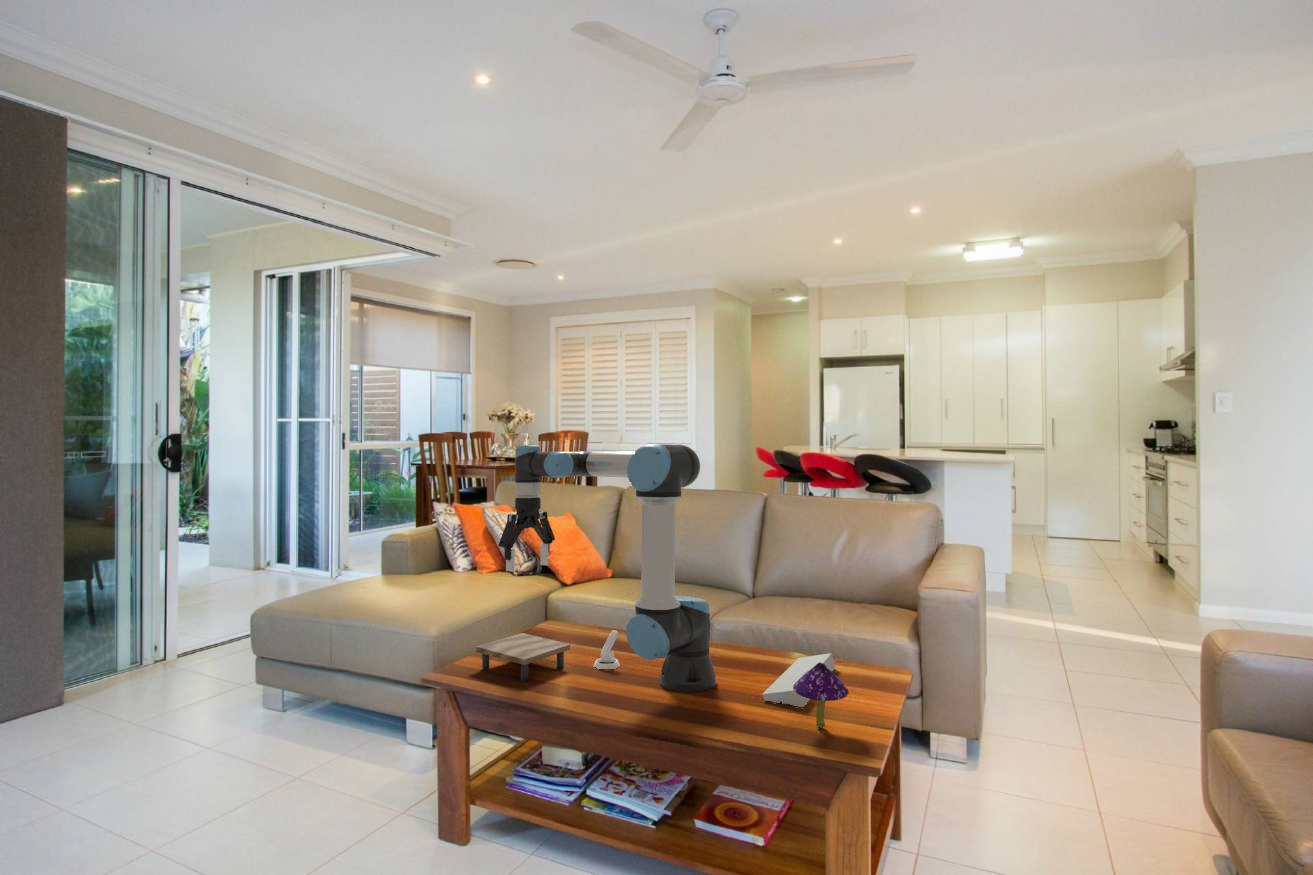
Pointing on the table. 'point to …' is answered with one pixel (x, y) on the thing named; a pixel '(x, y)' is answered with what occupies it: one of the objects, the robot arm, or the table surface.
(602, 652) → the white ring with handle
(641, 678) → the table surface
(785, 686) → the decorative molding
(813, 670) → the decorative mushroom
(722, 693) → the table surface
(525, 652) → the small wooden table
